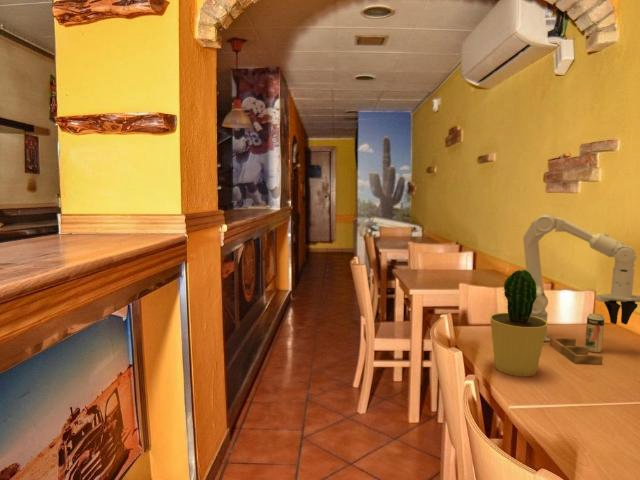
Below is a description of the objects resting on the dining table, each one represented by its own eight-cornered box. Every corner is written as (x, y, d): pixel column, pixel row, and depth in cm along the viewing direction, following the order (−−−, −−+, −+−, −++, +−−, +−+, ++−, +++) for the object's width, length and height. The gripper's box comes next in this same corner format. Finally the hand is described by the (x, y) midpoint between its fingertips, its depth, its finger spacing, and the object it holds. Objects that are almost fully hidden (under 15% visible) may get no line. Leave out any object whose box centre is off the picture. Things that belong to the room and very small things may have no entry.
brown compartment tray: (575, 363, 141) (575, 355, 140) (549, 345, 158) (550, 337, 157) (602, 364, 140) (602, 356, 140) (573, 345, 157) (574, 338, 157)
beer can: (581, 348, 154) (584, 313, 153) (592, 347, 156) (595, 312, 154) (593, 353, 150) (596, 317, 148) (605, 352, 151) (608, 316, 150)
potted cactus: (523, 358, 145) (530, 263, 141) (556, 378, 130) (564, 272, 126) (477, 360, 142) (483, 263, 139) (505, 380, 127) (511, 272, 124)
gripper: (606, 284, 146) (603, 326, 148) (653, 285, 146) (649, 327, 147) (594, 280, 153) (591, 320, 155) (639, 281, 153) (635, 321, 154)
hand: (618, 323), depth 151 cm, fingers open, 3 cm apart
